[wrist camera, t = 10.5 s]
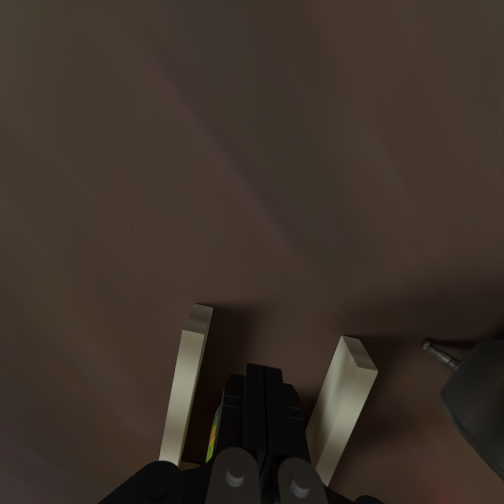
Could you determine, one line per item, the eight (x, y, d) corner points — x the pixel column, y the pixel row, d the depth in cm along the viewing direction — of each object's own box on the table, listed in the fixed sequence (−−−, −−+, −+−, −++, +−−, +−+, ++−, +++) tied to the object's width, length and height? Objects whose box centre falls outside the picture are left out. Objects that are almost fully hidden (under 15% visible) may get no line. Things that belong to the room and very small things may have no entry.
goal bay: (195, 303, 17) (180, 334, 14) (358, 339, 18) (381, 376, 15) (163, 470, 22) (146, 523, 18) (296, 495, 22) (302, 551, 19)
